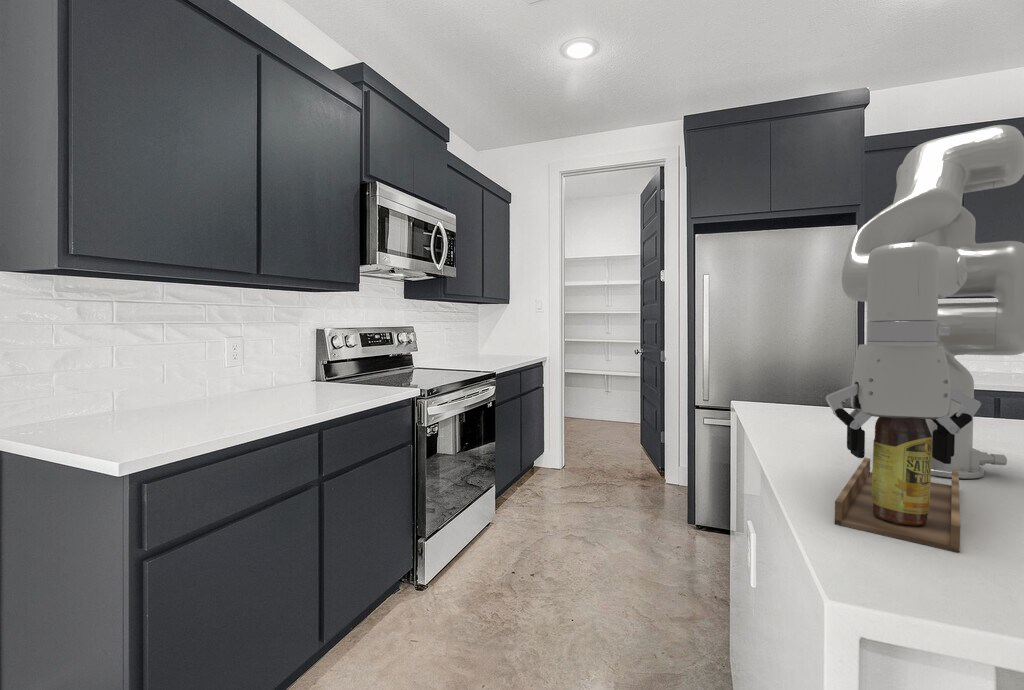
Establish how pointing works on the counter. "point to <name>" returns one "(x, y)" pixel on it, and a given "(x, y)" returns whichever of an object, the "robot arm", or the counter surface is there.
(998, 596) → the counter surface
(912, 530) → the tray
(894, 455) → the sauce bottle
